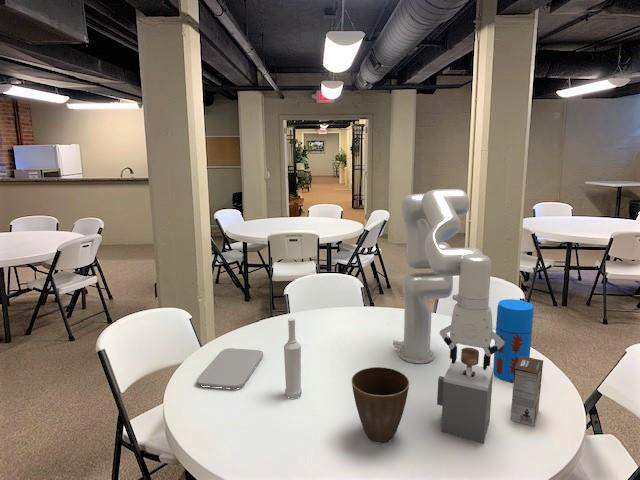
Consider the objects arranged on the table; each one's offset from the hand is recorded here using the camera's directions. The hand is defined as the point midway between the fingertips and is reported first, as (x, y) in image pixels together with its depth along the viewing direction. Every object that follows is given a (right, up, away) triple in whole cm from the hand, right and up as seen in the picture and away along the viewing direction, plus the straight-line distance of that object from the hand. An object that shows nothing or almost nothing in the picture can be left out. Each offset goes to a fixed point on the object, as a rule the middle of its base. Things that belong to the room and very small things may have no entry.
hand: (469, 364), depth 121 cm
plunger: (0, -15, +3) cm, 15 cm away
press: (-1, -18, +4) cm, 19 cm away
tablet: (-71, -13, +37) cm, 81 cm away
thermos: (+24, -12, +31) cm, 41 cm away
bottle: (-48, -15, +21) cm, 55 cm away
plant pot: (-24, -19, +1) cm, 31 cm away
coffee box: (+19, -17, +9) cm, 27 cm away
